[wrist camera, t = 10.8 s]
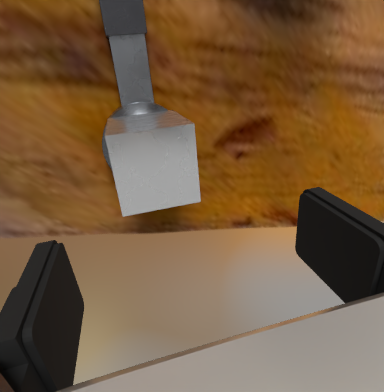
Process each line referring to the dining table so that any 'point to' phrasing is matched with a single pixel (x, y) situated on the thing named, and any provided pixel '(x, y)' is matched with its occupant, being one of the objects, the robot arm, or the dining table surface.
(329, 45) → the dining table surface
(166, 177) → the brushed metal cube
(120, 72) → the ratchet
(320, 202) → the robot arm
